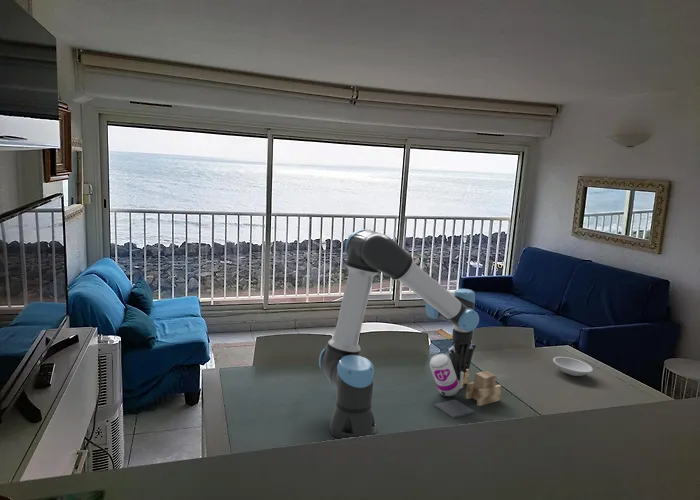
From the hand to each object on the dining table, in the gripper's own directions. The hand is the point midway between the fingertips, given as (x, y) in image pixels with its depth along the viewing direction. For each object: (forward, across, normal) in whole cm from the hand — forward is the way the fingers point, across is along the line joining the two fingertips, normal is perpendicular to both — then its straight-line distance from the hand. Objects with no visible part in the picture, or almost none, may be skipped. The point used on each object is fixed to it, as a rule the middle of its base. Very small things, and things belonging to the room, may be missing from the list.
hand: (459, 386), depth 191 cm
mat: (+2, -11, -10) cm, 15 cm away
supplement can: (+1, -4, 0) cm, 4 cm away
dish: (+5, +60, -7) cm, 60 cm away
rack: (+3, +5, 0) cm, 5 cm away
